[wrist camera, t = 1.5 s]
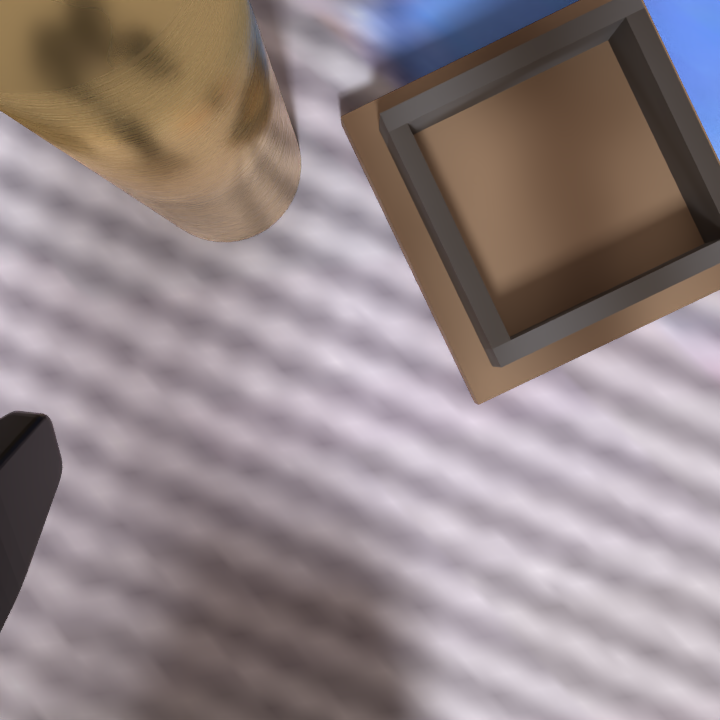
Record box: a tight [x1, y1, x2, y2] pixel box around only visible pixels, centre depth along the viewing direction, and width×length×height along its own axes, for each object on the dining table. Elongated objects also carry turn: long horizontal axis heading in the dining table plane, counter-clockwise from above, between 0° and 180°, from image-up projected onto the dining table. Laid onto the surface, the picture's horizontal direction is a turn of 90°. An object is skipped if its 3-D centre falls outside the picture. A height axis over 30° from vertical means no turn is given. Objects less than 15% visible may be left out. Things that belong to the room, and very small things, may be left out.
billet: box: [0, 0, 301, 242], centre depth 16 cm, size 5×5×13 cm
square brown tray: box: [341, 0, 720, 405], centre depth 21 cm, size 10×10×2 cm
